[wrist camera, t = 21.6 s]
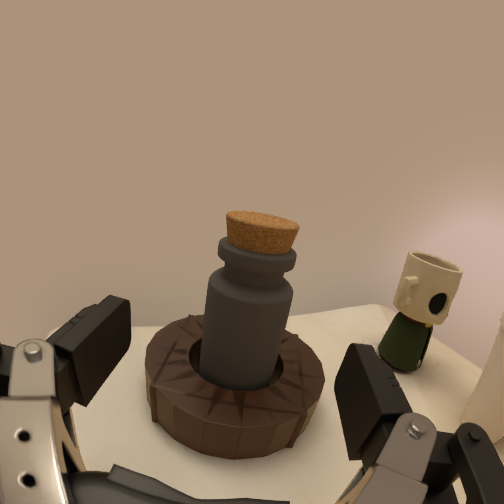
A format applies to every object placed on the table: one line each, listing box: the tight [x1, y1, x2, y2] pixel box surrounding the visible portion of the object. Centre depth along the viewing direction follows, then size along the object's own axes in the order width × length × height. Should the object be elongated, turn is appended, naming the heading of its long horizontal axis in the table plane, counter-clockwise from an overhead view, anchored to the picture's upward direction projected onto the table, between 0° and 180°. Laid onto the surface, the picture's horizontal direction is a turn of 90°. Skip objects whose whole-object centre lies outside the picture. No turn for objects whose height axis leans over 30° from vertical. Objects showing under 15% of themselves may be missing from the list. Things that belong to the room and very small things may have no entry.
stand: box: [145, 315, 325, 459], centre depth 22 cm, size 14×14×4 cm
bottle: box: [199, 211, 299, 391], centre depth 20 cm, size 6×6×15 cm
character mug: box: [378, 251, 463, 371], centre depth 28 cm, size 11×7×13 cm, turn 113°
